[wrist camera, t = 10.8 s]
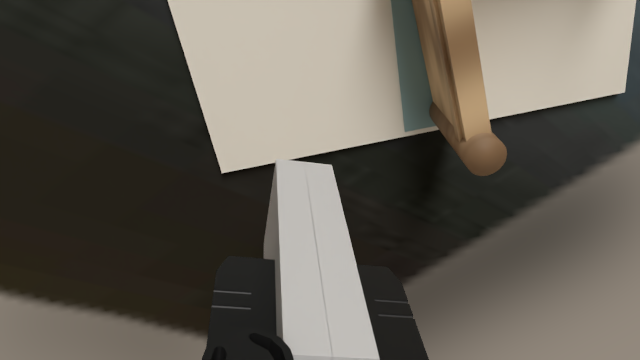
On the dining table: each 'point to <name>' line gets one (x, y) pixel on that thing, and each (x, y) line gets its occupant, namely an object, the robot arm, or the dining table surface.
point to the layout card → (380, 67)
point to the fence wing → (458, 82)
